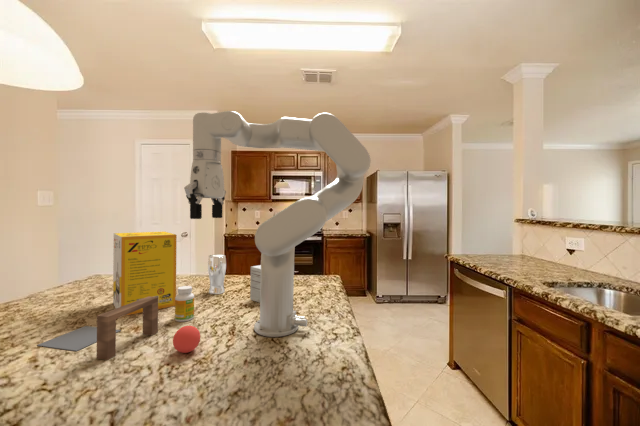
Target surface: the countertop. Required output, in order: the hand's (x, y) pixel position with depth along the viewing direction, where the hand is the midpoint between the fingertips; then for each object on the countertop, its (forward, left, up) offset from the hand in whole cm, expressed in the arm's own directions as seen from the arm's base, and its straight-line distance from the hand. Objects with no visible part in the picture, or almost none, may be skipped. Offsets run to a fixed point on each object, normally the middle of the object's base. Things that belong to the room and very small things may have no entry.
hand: (207, 218), depth 83 cm
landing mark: (+27, +14, -31) cm, 44 cm away
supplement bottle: (+10, -4, -32) cm, 34 cm away
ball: (-4, +14, -28) cm, 32 cm away
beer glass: (+16, -32, -32) cm, 48 cm away
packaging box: (+32, -12, -32) cm, 47 cm away
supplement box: (-6, -28, -32) cm, 43 cm away
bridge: (+12, +14, -31) cm, 36 cm away
